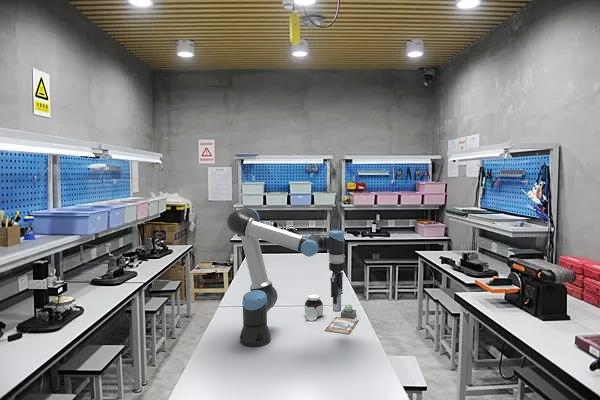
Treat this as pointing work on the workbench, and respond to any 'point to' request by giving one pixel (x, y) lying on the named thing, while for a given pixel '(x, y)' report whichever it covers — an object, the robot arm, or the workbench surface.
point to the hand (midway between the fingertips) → (337, 308)
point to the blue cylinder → (339, 301)
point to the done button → (348, 308)
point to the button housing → (348, 314)
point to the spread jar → (313, 307)
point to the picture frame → (342, 325)
